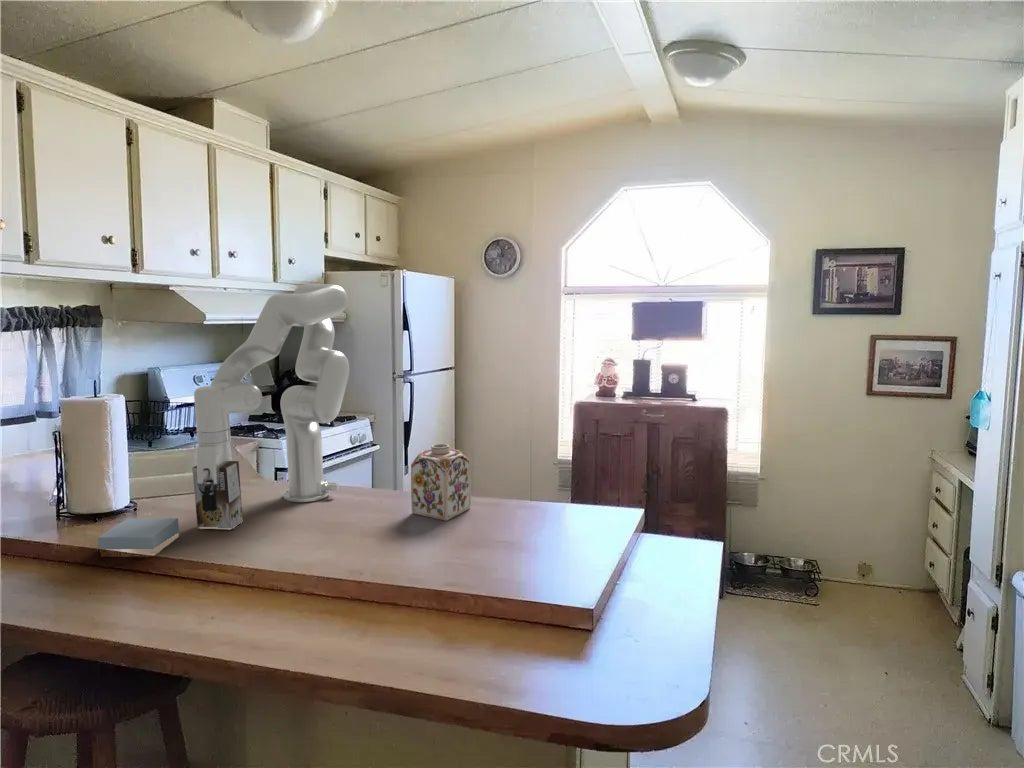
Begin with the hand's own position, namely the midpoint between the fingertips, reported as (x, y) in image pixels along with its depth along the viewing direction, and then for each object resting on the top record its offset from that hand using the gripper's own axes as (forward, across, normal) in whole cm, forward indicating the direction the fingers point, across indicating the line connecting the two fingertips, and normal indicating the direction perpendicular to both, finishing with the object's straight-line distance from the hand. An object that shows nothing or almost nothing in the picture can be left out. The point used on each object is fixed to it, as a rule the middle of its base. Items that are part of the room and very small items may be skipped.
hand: (218, 503), depth 171 cm
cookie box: (+6, 0, 0) cm, 6 cm away
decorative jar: (+6, -12, +54) cm, 56 cm away
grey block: (+6, +14, -12) cm, 19 cm away
